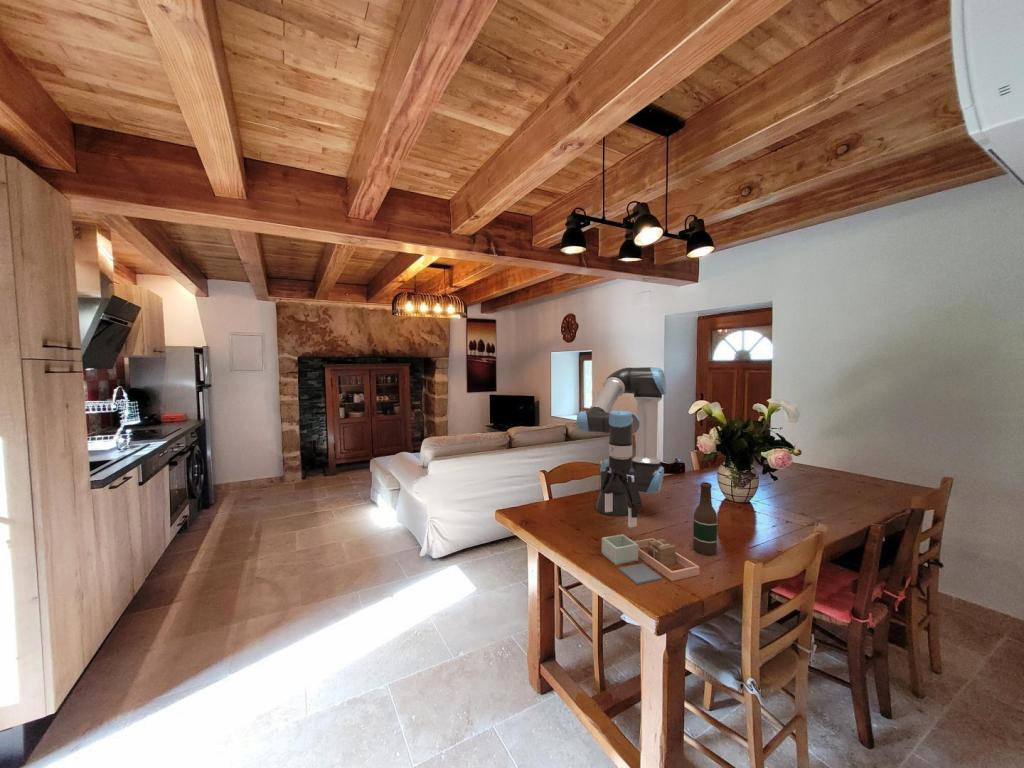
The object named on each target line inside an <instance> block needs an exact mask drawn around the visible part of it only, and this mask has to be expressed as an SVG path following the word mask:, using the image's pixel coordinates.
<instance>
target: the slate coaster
mask: <svg viewBox="0 0 1024 768" xmlns="http://www.w3.org/2000/svg"><path fill="white" fill-rule="evenodd" d="M618 570H619V571H620V573H622V574H623V575H624V576H626V577H627V578H628V579H629V580H630V581H632V582H633V583H634V584H635V585H637V586H638V585H643V584H647V583H652V582H655V581H661V580H662V579H663V577H662V576H661V575H660V574H658V573H657V572H655V571H654V570H652V569H651V568H650V567H648V566H647V565H646V564H644V563H641V562H640V563H637V564H632V565H627V566H623V567H619V568H618Z"/></svg>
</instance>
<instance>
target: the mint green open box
mask: <svg viewBox="0 0 1024 768" xmlns="http://www.w3.org/2000/svg"><path fill="white" fill-rule="evenodd" d="M634 541H635V540H632V539H630V538H629V537H627V536H626V535H625V534H623V533H621V534H616V535H611V536H604V537H601V554H602V555H603V556H604V557H605V558H607V559H608V560H609V561H611V563H613V564H614V566H619V565H624V564H629V563H634V562H639V557H638V544H637V543H635V542H634Z"/></svg>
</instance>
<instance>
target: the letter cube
mask: <svg viewBox="0 0 1024 768" xmlns="http://www.w3.org/2000/svg"><path fill="white" fill-rule="evenodd" d="M676 550H677V549H676V545H674V544H672V543H670V542H669V541H667V540H666V539H664V538H661V539H655V540H653V541H648V547H647V554H648V555H650V556H651V557H653V558H654V559H655V560H657V561H658V562H660V563H661V564H663V565H664V566H666V567H668V566H673V565H676V561H675V552H676Z"/></svg>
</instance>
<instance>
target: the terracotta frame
mask: <svg viewBox="0 0 1024 768" xmlns="http://www.w3.org/2000/svg"><path fill="white" fill-rule="evenodd" d="M653 540H656V539H655V538H654V537H651V538H646V539H640V540H633V541H634V542H635V543H637V544H638V559H641V560H642V561H643V562H645V563H647V564H648V565H649V566H651V567H652V568H653V569H655V570H656V571H658V572H659V573H660V574H661V575H663V576H665V577H666V578H667V579H668V580H670V581H671V582H674V581H677V580H682V579H687V578H691V577H696V576H700V573H701V571H700V570H701V569H700V566H699V565H697V564H696V563H694V562H692V561H691V560H689V559H687V558H686V557H684V556H683V555H681V554H680V553H678V552H677V551H675V563H676V562H677V563H678V564H679V565H681V566H683V567H684V568H681V569H677V570H671V569H670V568H668V566H664V565H663V564H661V563H660V562H658V561H657V560H655V559H654V558H653V557H651V556H650V555H648V552H647V553H646V551H644V550H643V549H645V548H648V541H653Z"/></svg>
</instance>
